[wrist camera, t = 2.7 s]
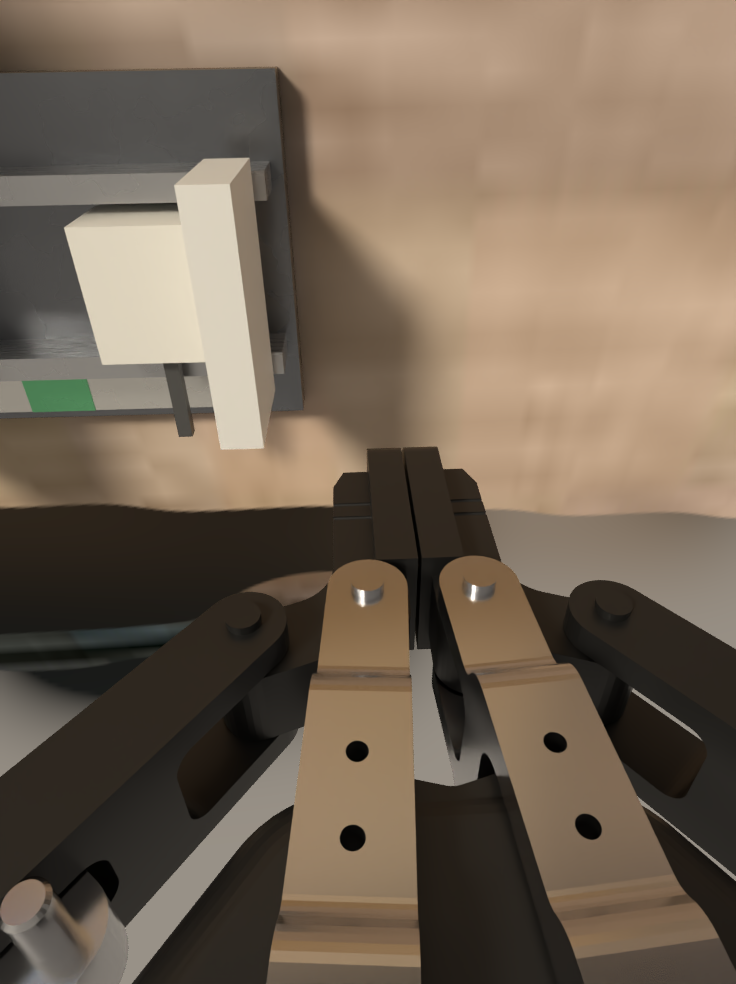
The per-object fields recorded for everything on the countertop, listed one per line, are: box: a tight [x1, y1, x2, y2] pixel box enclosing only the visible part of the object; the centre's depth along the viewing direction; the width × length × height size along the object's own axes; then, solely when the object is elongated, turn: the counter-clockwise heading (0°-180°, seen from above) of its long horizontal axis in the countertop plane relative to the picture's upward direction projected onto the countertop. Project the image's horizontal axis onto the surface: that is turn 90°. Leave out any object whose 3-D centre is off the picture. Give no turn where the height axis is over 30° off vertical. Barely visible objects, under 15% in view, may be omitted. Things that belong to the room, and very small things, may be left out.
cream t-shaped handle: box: [64, 158, 275, 450], centre depth 24 cm, size 7×11×7 cm, turn 1°
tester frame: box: [0, 67, 305, 418], centre depth 24 cm, size 21×14×9 cm, turn 91°
